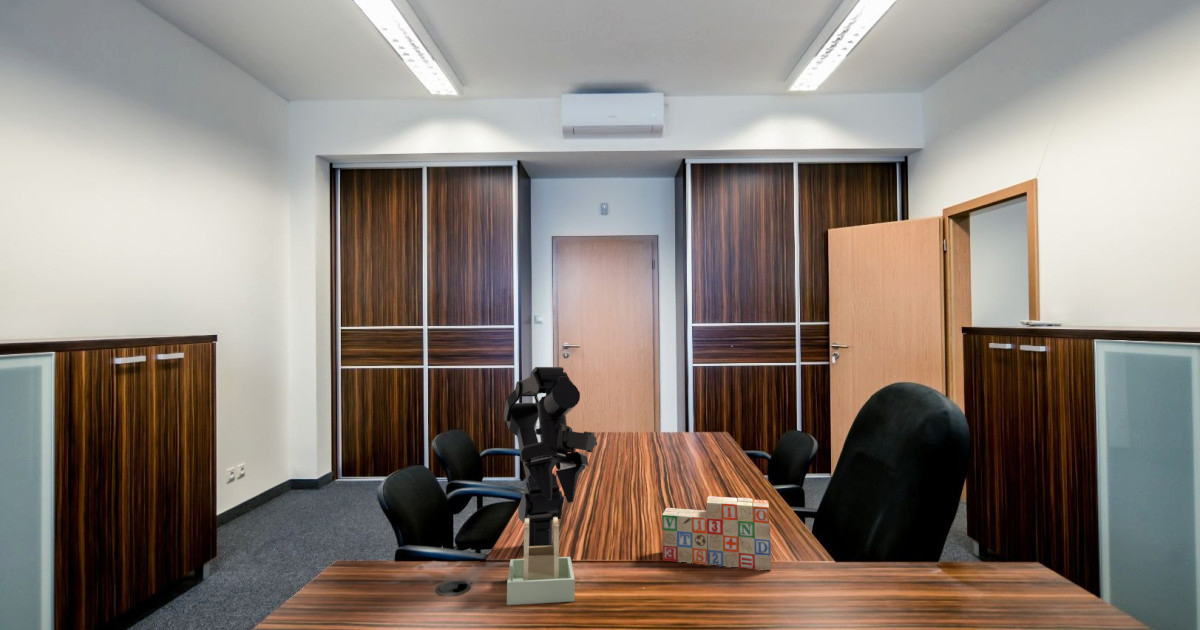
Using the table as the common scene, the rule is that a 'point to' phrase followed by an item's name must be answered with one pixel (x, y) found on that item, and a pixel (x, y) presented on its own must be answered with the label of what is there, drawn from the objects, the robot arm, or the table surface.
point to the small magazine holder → (541, 556)
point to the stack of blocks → (719, 533)
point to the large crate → (540, 585)
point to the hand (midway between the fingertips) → (560, 501)
